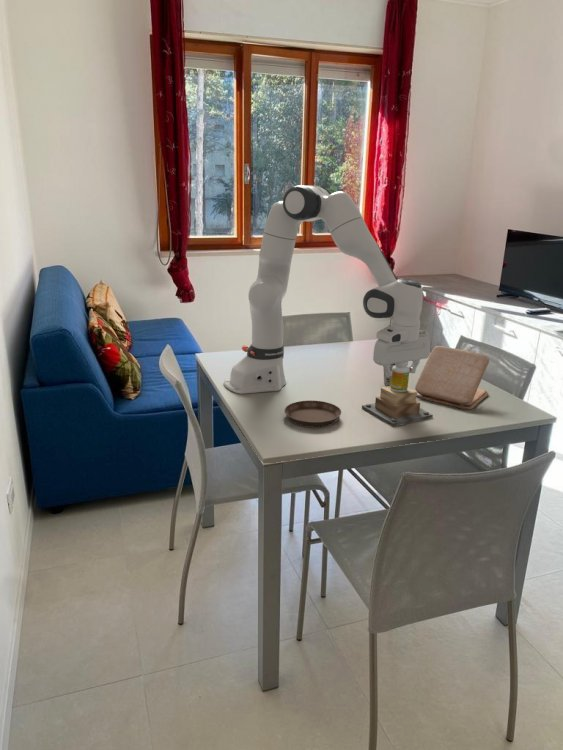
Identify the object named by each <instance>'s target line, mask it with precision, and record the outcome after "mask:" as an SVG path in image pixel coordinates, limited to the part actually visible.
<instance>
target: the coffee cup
mask: <svg viewBox="0 0 563 750" xmlns="http://www.w3.org/2000/svg"><path fill="white" fill-rule="evenodd" d="M393 366H395V364H391V367H389V369H390V371H392V368H393ZM383 384H384V385H386V386H390V385H391V377H386V376H385V370H384V369H383Z"/></svg>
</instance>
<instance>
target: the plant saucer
mask: <svg viewBox="0 0 563 750" xmlns="http://www.w3.org/2000/svg"><path fill="white" fill-rule="evenodd" d="M284 413H285V415H286V417H287V418H288V419H289V420H290V421H291V422H292V423H293V424H295V425H297V426H301V427H304V428H323V427H328V426H331V425H332V424H334V423H336V421H337V420H338V419H339V418H340V416H341V415H342V410H341V408H340V407H339V406H337V405H336V404H333V403H331V402H326V401H321V400H298V401H295V402H292V403H290V404H288V405H287V406H285V408H284Z"/></svg>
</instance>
